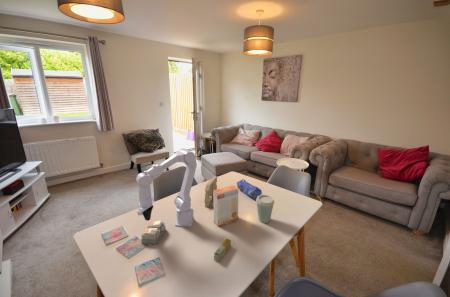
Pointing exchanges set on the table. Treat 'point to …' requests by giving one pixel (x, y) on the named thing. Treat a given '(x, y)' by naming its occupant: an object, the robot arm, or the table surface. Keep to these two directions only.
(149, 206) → the robot arm
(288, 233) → the table surface
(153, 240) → the breaker panel
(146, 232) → the breaker
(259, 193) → the pencil case
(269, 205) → the disposable coffee cup
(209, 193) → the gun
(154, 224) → the breaker
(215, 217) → the cracker box
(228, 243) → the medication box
